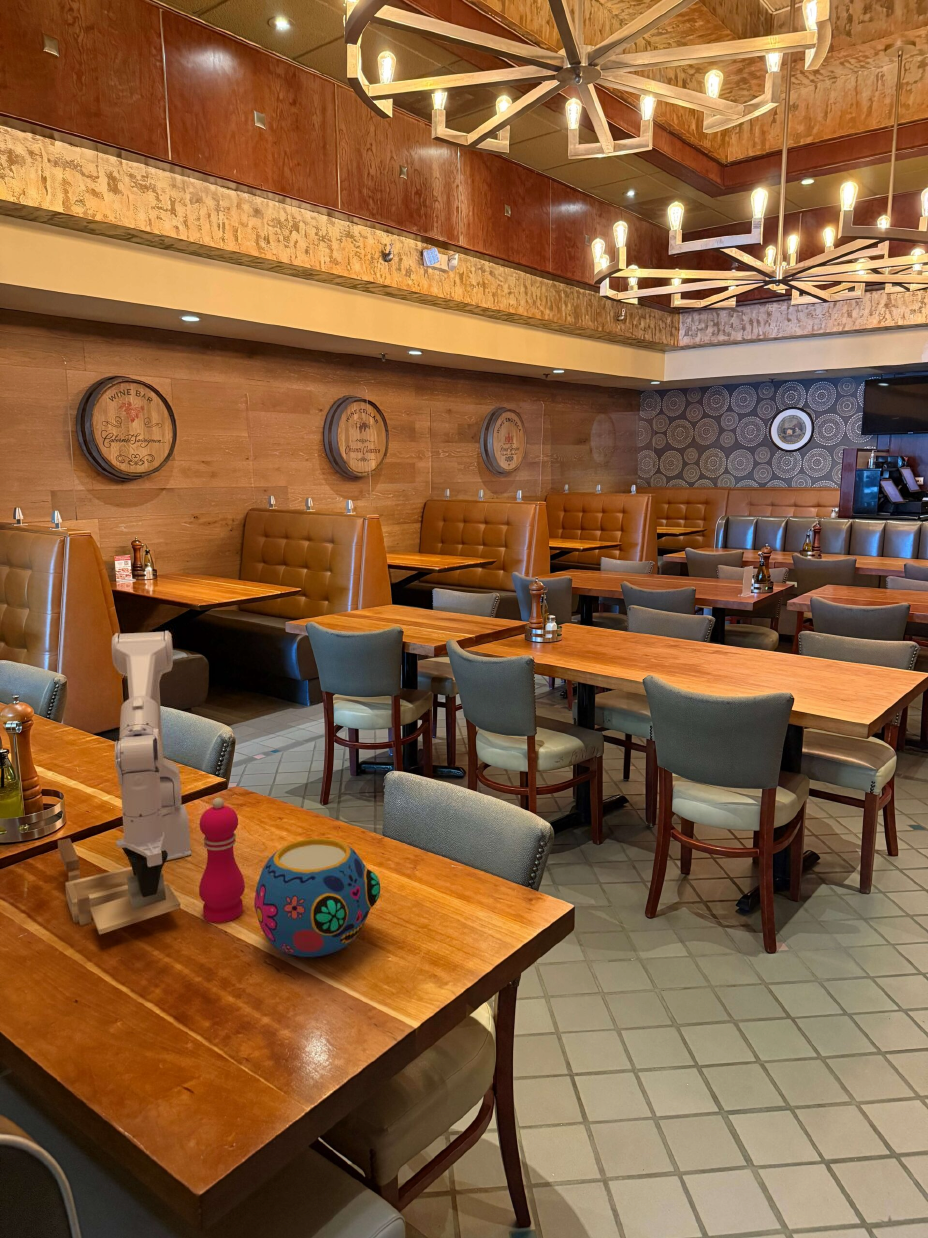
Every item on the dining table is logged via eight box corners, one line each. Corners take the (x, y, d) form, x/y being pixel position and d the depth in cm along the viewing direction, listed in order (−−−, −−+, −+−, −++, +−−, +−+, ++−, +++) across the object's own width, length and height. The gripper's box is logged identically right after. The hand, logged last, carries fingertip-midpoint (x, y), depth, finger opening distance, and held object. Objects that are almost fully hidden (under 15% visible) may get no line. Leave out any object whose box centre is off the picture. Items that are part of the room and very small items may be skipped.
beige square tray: (139, 880, 144) (138, 856, 144) (154, 906, 136) (152, 881, 135) (65, 898, 138) (63, 873, 137) (75, 927, 129) (73, 901, 128)
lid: (168, 888, 135) (164, 859, 134) (180, 908, 128) (176, 878, 127) (90, 912, 128) (86, 882, 127) (99, 934, 122) (94, 903, 121)
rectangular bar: (70, 847, 147) (69, 838, 147) (79, 869, 139) (78, 859, 138) (58, 850, 146) (57, 840, 145) (66, 872, 138) (65, 862, 137)
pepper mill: (233, 927, 129) (227, 808, 126) (191, 922, 131) (185, 804, 127) (253, 904, 136) (248, 791, 133) (214, 900, 138) (208, 788, 134)
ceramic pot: (321, 994, 112) (319, 893, 110) (231, 955, 122) (227, 861, 119) (395, 935, 127) (395, 845, 125) (310, 904, 136) (308, 820, 134)
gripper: (105, 800, 130) (111, 879, 133) (124, 832, 119) (130, 918, 121) (151, 791, 134) (156, 868, 137) (174, 821, 122) (178, 905, 125)
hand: (147, 890), depth 129 cm, fingers closed on lid, 2 cm apart
